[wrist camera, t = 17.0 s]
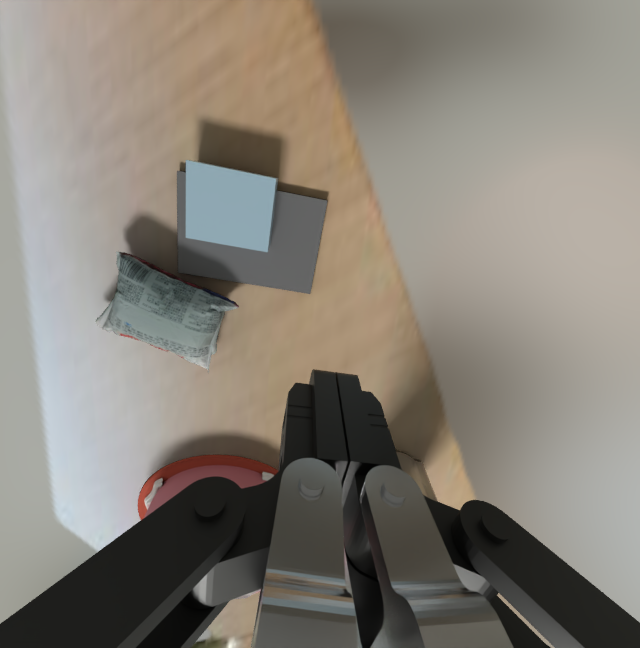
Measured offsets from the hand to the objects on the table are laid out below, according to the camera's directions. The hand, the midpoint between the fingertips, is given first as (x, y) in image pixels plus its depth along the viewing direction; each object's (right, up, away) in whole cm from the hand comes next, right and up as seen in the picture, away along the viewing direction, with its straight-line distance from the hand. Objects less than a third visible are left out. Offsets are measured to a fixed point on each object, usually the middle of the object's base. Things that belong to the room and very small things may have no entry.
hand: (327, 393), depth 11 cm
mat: (-7, +11, +19) cm, 23 cm away
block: (-8, +10, +18) cm, 22 cm away
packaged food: (-15, +4, +22) cm, 27 cm away
